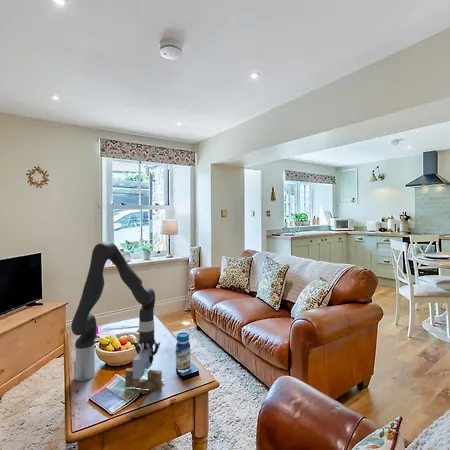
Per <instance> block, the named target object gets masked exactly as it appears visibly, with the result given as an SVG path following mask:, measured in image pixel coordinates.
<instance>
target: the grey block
mask: <svg viewBox="0 0 450 450" xmlns="http://www.w3.org/2000/svg"><path fill="white" fill-rule="evenodd" d="M150 349H151V348H150ZM149 356H150V354H149V351H148V349H144V350H142V351H141V352H140V353H139V354H137V355H136V356H135V357H134V358H133V359H132V368H133V378H135V379H142V377H143V376H144V375H145V370H150V368H151V367H152V365H153V362H152V363H149Z"/></svg>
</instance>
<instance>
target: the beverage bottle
mask: <svg viewBox="0 0 450 450" xmlns="http://www.w3.org/2000/svg"><path fill="white" fill-rule="evenodd" d="M189 341H190V334H189V333H188V332H186V331H185V332H184V331H183V332H178V333H177V334H176V342H177V343H176V344H175V371H177V370H186V369H189V368H190V366H192V365H191V359H192V358H191V357H192V356H191V352H192V351H191V343H190V342H189Z"/></svg>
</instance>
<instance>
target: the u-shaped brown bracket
mask: <svg viewBox="0 0 450 450" xmlns="http://www.w3.org/2000/svg"><path fill="white" fill-rule="evenodd" d="M162 371H163V370H154V369H148V371H147V379H145V378H144V379H143V378H140V379H135V378H133V367H130V368H129V367H127V368H126V369H125V370H124V383H125V385H124V386H125V387H135V388H141V389H149V390H150V391H149V392H157V393H161V391H162V389H163V384H162V383H163V381H162V380H163V375H162ZM125 387H124V388H125Z"/></svg>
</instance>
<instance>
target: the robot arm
mask: <svg viewBox="0 0 450 450" xmlns="http://www.w3.org/2000/svg"><path fill="white" fill-rule="evenodd" d="M108 260H109V261H111V263H112V264H113V265H114V266H115V267H116V269H117V271H118V274H119V276H120V279H121V280H122V282H123V283H124V284H125V285H126V287H127V288H128V289H129V290H130V291H131V293H132V295H133V297H134V299H135V300H136V302H137V303H138V304H140V305H141V307H140V310H139V312H138V313H139V314H138V315H139V316H138V317H139V321H138V340H135V341H134V342H133V346H134V349H135V351H136V353H137V355H138V354H139V353H140V352H141V351H142V350H144V349H148V351H149V354H150V356H149V363H152V364H153V361H154V356H156V354H157V353H158V351H159V348H160V345H161V342H160V341H159V342H157V341H156V339H155V321H154V318H155V317H154V313H155V312H154V308H155V305H156V304H155V303H156V293H155V290H154V289H152V288H151V287H150V288H149V287H147V288H145V287H144V286H143V280H142V279H141V278H140V277H139V275H138V274H136V272H135V271H134V270H133V268H132V267H131V266H130V265H129V263H128V262H127V260H126V259H125V258H124V256H123V254H122V253H121V251H120V250H119V248H118V247H117V245H116V244H115V242H112V241H103V242H100V243H96V245H94V247H93V250H92V253H91V258H90V264H89V269H88V273H87V276H86V278H85V280H86V281H85V283H84V285H83V290H82V293H81V297H80V300H79V304H78V307H77V309H76V312H75V314H74V316H73V318H72V321H71V331H72V334H73V335H75V336H79V337H78V338H77V339H76V340H75V343H74V344H75V346H74V347H75V351H74V352H75V354H74V356H75V360H74V361H73V379H74V380H75V381H77V382H80V383H81V382H87V381H90V380H92V379H93V378H94V377H95V375H96V364H95V363H96V361H95V360H96V359H95V358H96V356H95V353H96V352H95V340H96V337H97V336H96V326H97V319H96V317H95V315H94V314H93V313H91V311H92V309H93V308H94V307H95V305H96V304H97V303H98V301H99V300H100V298H101V296H102V295H103V290H104V288H105V287H104V286H105V278H104V269H105V266H106V263H107V261H108ZM150 348H151V349H150Z"/></svg>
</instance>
